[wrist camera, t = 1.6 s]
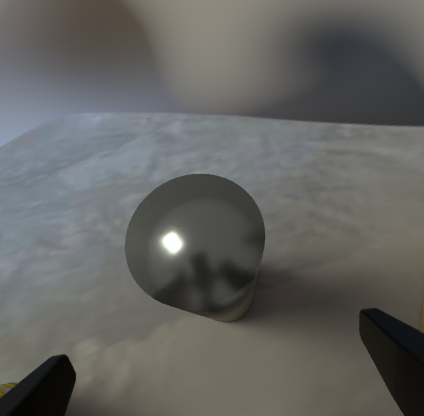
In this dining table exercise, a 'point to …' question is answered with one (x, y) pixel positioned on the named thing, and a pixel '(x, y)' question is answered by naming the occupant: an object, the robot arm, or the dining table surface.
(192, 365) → the dining table surface
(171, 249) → the metal tin
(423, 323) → the ledge stand
